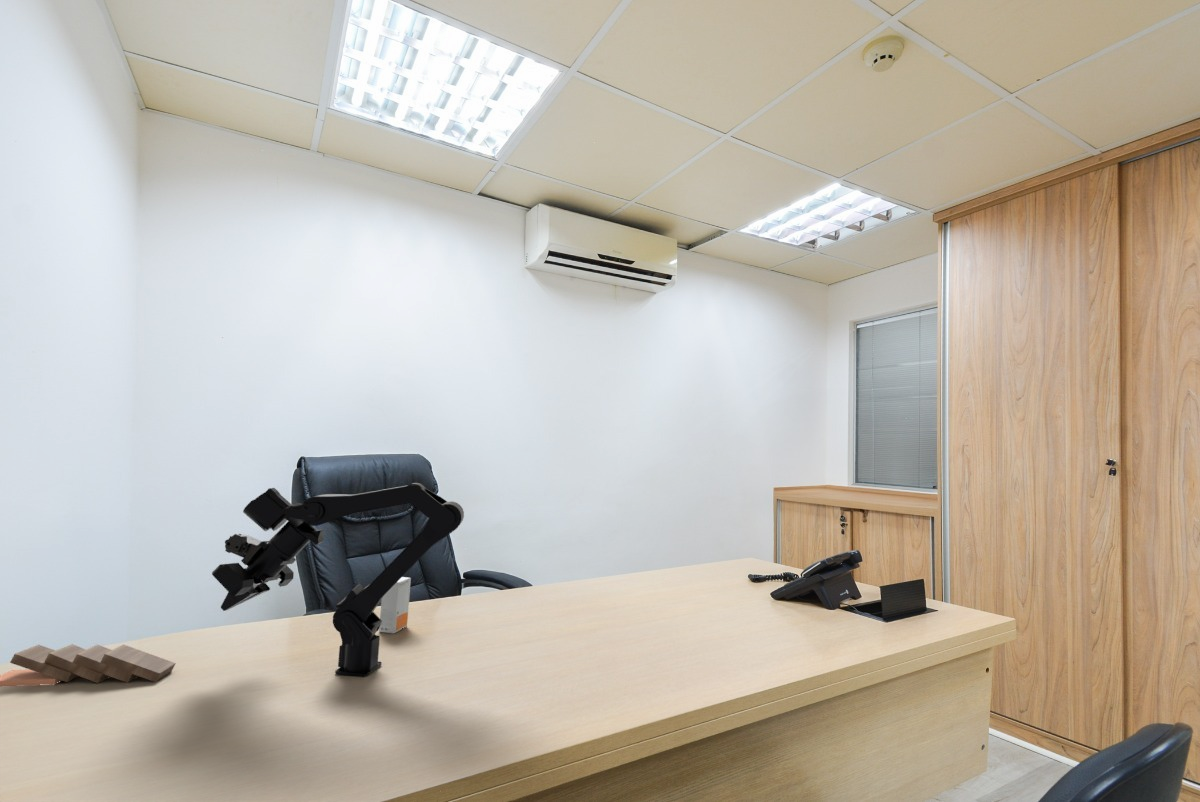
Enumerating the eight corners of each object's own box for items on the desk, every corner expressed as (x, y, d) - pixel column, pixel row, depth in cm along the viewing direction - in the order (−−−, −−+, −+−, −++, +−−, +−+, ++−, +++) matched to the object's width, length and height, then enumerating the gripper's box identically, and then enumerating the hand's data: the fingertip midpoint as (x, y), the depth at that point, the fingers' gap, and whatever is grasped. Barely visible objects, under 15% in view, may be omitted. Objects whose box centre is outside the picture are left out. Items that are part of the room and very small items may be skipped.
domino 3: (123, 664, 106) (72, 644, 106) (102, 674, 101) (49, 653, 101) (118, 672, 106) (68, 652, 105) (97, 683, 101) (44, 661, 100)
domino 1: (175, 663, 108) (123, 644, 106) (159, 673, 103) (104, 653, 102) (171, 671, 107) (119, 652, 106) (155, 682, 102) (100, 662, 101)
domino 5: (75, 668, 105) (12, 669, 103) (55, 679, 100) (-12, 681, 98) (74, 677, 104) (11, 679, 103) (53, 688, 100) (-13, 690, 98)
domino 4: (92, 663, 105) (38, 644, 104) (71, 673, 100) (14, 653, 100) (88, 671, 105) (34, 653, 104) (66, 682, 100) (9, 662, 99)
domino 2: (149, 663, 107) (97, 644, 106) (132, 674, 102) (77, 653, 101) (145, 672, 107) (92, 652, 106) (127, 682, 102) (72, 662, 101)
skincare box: (394, 634, 134) (398, 582, 135) (378, 632, 135) (382, 581, 136) (408, 626, 140) (411, 577, 141) (392, 625, 140) (396, 575, 142)
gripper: (282, 519, 122) (226, 575, 119) (227, 519, 104) (160, 585, 101) (317, 554, 120) (261, 612, 118) (267, 560, 102) (200, 629, 100)
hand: (223, 609), depth 109 cm, fingers closed
